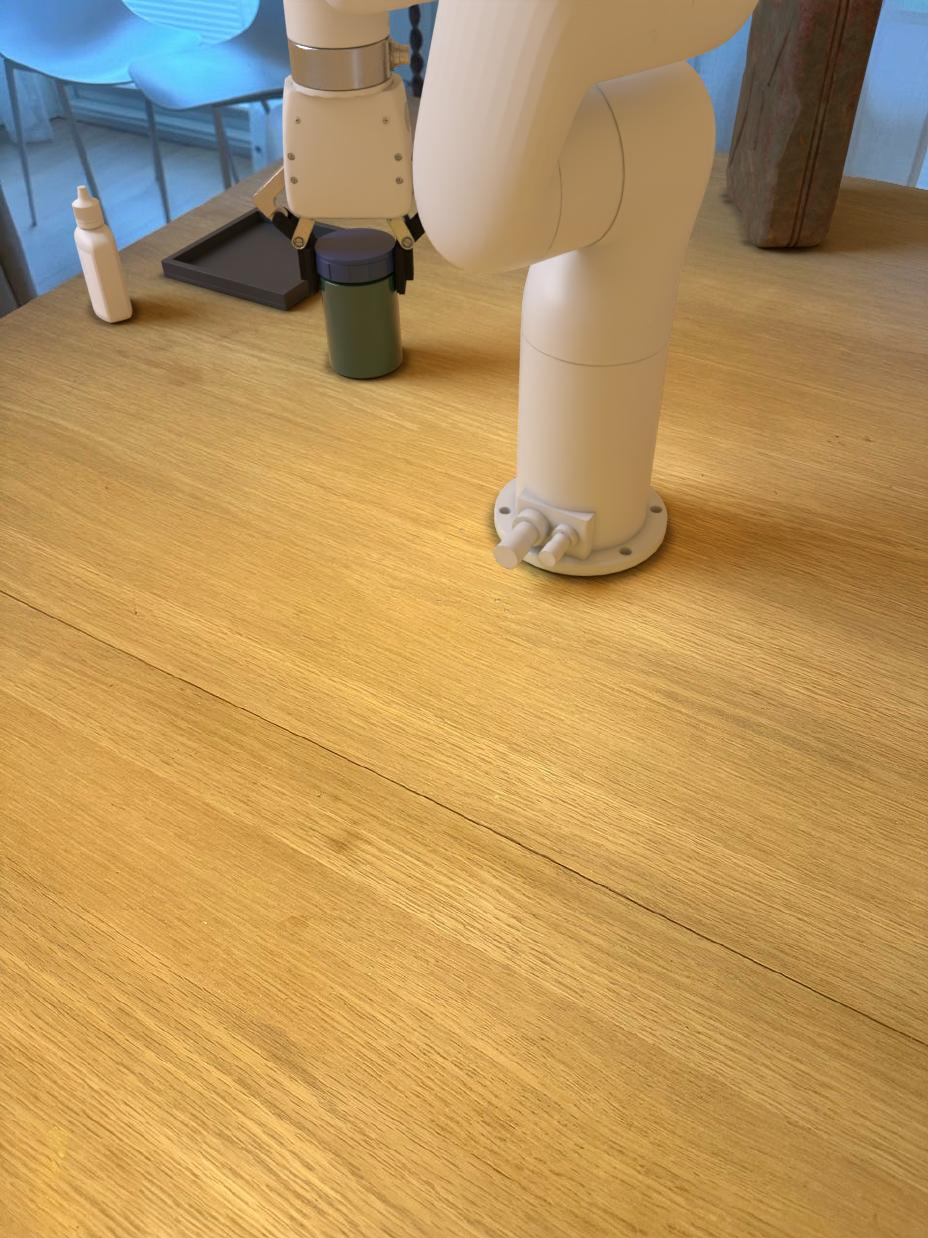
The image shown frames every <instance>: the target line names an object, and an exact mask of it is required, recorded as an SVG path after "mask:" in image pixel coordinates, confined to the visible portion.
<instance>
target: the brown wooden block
mask: <svg viewBox="0 0 928 1238" xmlns="http://www.w3.org/2000/svg"><path fill="white" fill-rule="evenodd" d="M883 2H884V0H759V2H758V3H757V5H756V7H755V9H754V11H753V12H752V14H751V20H750V26H749V33H748V40H747V45H746V46H747V47H746V55H745V56H746V58H745V68H744V69H743V70H744V71H743V74H742V77H741V83H740V84H741V85H740V90H739V95H738V96H739V97H738V102H737V108H736V112H735V113H736V114H735V119H734V124H733V131H732V136H731V140H730V141H731V142H730V146H729V153H728V159H727V165H726V169H725V170H726V171H725V179H726V181H725V182H726V194H727V197H728V198H729V200H730V202H731V203H732V204H733V205H734V206H735V208H736V209H737V210H738V211H739V212H740V213H741V214H742V224H743V228H744V230H745V232H746V235H747V237H748V239H749V241H750V242H751V244H753V245H754V246H755V247H758V248H786V247H787V248H791V247H792V248H793V247H794V248H810V247H814V246H817V245H821V243H822V242H823V240H824V239H825V237H826V236H827V235H828V234H829V232H830V228H831V223H832V220H833V216H834V212H835V208H836V204H837V200H838V197H839V191H840V189H841V183H842V179H843V174H844V170H845V165H846V161H847V157H848V152H849V147H850V143H851V138H852V134H853V130H854V126H855V125H854V124H855V121H856V115H857V112H858V111H857V110H858V106H859V102H860V98H861V94H862V90H863V86H864V81H865V77H866V73H867V70H868V66H869V61H870V57H871V53H872V49H873V45H874V40H875V36H876V32H877V28H878V24H879V20H880V16H881V10H882V7H883Z"/></svg>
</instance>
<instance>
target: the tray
mask: <svg viewBox="0 0 928 1238" xmlns="http://www.w3.org/2000/svg"><path fill="white" fill-rule="evenodd" d="M295 216H296V217H297V218H298V219H299V217H300V216H298V215H295ZM343 229H347V228H346V227H341V226H337V225H334V224H330V223H325V222H321V221H317V220H316V221H315V224H314V226H313V229H312V231H313V234H315V237H317V239H319V238H321V237H322V236H324V235H326V234H329V233H331V232H335V231H339V230H343ZM160 262H161V266H162V267H161V268H162V271H163V275H164V277H166V278H170V279H173V280H176V281H181V282H184V283H187V284H190V285H193V286H197V287H201V288H204V289H208V290H210V291H211V290H212V291H216V292H218V293H222V294H225V295H229V296H232V297H236V298H239V299H243V300H246V301H250V302H254V303H258V304H260V305H265V306H268V307H271V308H275V309H278V310H282V311H288V310H289V309H291V308H293V307H294V306H295V305H297V304H298V303H300V302H301V301H303V300H304V299H306V298H307V297H309V296H310V295H311V294H309V289H308V280H301V276H300V268H299V259H298V251H297V249H296V248H295V247H294V246H293V245H292V241H291V240H290V239H289V238H287V237H286V236H285V235H284V234H283V233H282V232H281V231H279V230H278V229H277V228H276V227H275V226H274V225H273V223H272V221H271V220H270V219H269V218H267V217H266V216H265V215H264V214H263V213H262V212H261V211H260V210H259V209H258V208H257V207H256V206H255V207H254V208H252V209H250V210H248V211H246V212H245V213H243V214H241V215H239V216H238V217H235V218H234V219H233V220H231V221H229V222H227V223H225V224H224V225H222V226H220V227H218V228H216V229H214V230H213V231H211V232H210V233H208V234H206V235H204V236H202V237H200V238H199V239H197V240H195V241H193V242H191V243H190V244H188V245H186V246H184V247H182V248H180V249H179V250H177V251H175V252H173V253H172V254H170V255H169V256H166V257H165V258H163V259H161V260H160ZM319 289H321V288H320V286H319Z"/></svg>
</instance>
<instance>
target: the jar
mask: <svg viewBox="0 0 928 1238" xmlns="http://www.w3.org/2000/svg"><path fill="white" fill-rule="evenodd" d="M319 280H320V288H319V289H320V295H321V304H322V311H323V312H322V313H323V320H324V328H325V336H326V345H327V352H328V361H329V366H330V367H331V369H332V371H334V372H335V373H337V374H338V375H340V376H344V377H348V378H351V379H352V378H353V379H372V378H378V377H382V376H385V375H388V374H390V373H392V372H393V371H395V370H397V369H398V368H399V367H400V366H401V364H402V362H403V359H404V357H403V356H404V355H403V341H402V329H401V314H400V301H399V293H397V292H396V274H395V270H394V271H393V272H392V273H390V274H389V275H387V276H385V277H382V278H380V279H376V280H372V281H367V282H359V283H344V282H337V281H332V280H329V279H326V278H324V277H322V276H321V275H320V274H319Z"/></svg>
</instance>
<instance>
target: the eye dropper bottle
mask: <svg viewBox="0 0 928 1238" xmlns="http://www.w3.org/2000/svg"><path fill="white" fill-rule="evenodd" d="M76 188H77V198H76V199H75V200H73V201H72V202H71V208H72V211H73V215H74V218H75V219H74V220H75V222H76V227H75V229H74V233H73V237H74V238H73V239H74V242H75V246H76V249H77V253H78V257H79V262H80V264H81V268H82V272H83V276H84V280H85V284H86V287H87V291H88V294H89V298H90V302H91V305H92V308H93V311H94V313H95V315H96V316H97V317H98V318H99V319H100V320H102V321H104V322H107V323H111V324H113V323H117V322H122V321H125V320H128V319H131V317H132V315H133V307H132V302H131V299H130V293H129V290H128V286H127V282H126V278H125V274H124V270H123V266H122V262H121V257H120V253H119V249H118V246H117V245H118V244H117V241H116V238H115V236H114V233H113V231H112V230H111V229H110V227H109V226H108V225H107V224H106V223H105V219H104V215H103V211H102V207H101V203H100V200H99V199H98V198H96V197H92V196H90V194H89V192H88V189H87V187H86V185H82V184H81V185H78V186H77V187H76Z"/></svg>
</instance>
